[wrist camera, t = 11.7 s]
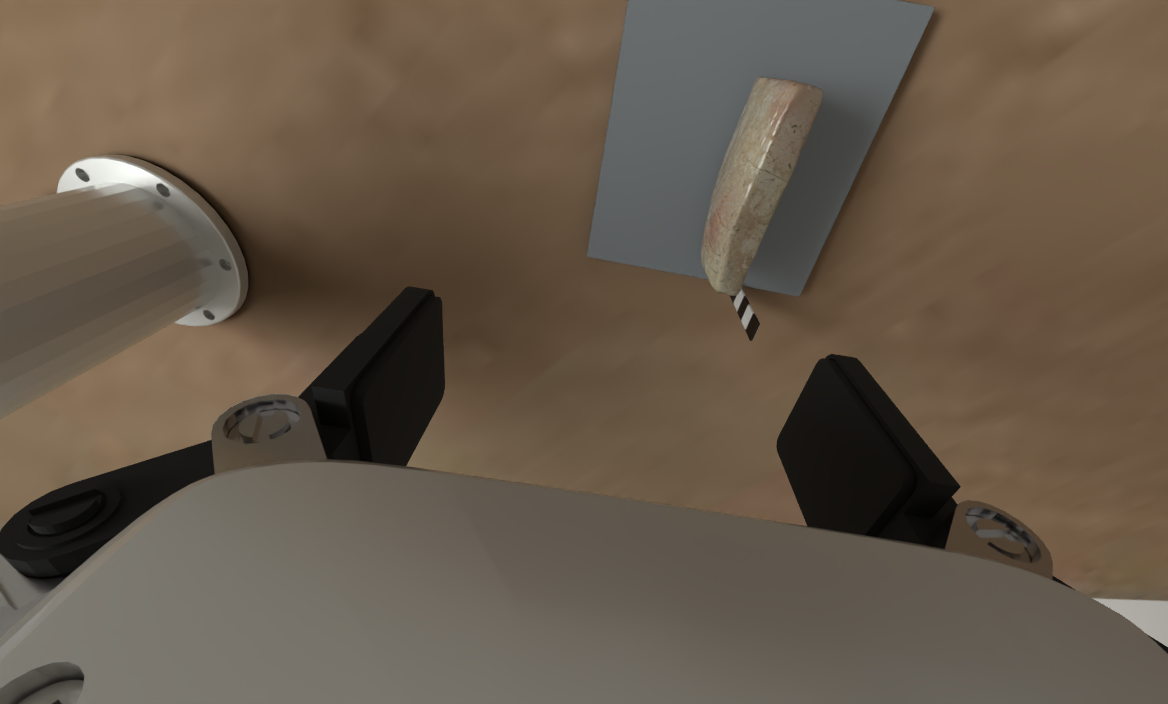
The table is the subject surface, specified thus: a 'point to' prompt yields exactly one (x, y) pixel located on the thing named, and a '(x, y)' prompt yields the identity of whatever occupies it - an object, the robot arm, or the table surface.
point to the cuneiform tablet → (754, 182)
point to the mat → (713, 108)
